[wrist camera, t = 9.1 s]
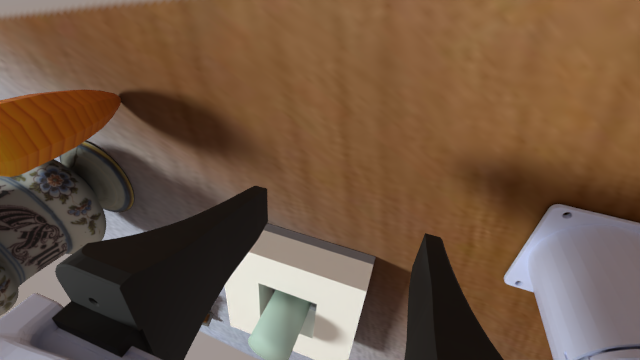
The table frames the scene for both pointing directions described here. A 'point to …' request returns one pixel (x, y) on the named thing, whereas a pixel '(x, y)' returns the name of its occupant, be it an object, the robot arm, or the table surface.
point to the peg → (279, 326)
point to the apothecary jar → (56, 212)
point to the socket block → (303, 288)
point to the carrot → (49, 126)
